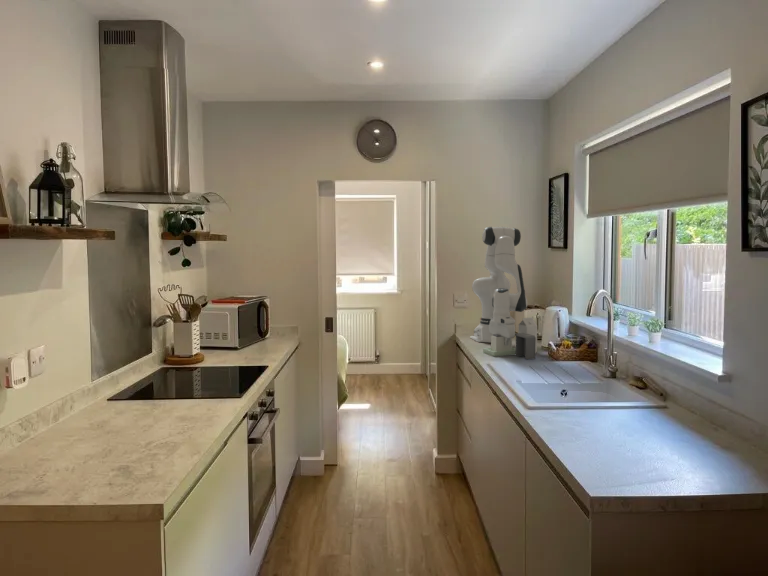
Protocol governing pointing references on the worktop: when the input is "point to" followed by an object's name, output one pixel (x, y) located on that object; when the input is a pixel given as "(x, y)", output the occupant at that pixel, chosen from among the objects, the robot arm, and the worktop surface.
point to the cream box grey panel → (500, 343)
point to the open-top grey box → (525, 345)
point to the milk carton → (529, 328)
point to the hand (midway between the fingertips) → (501, 343)
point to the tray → (499, 352)
